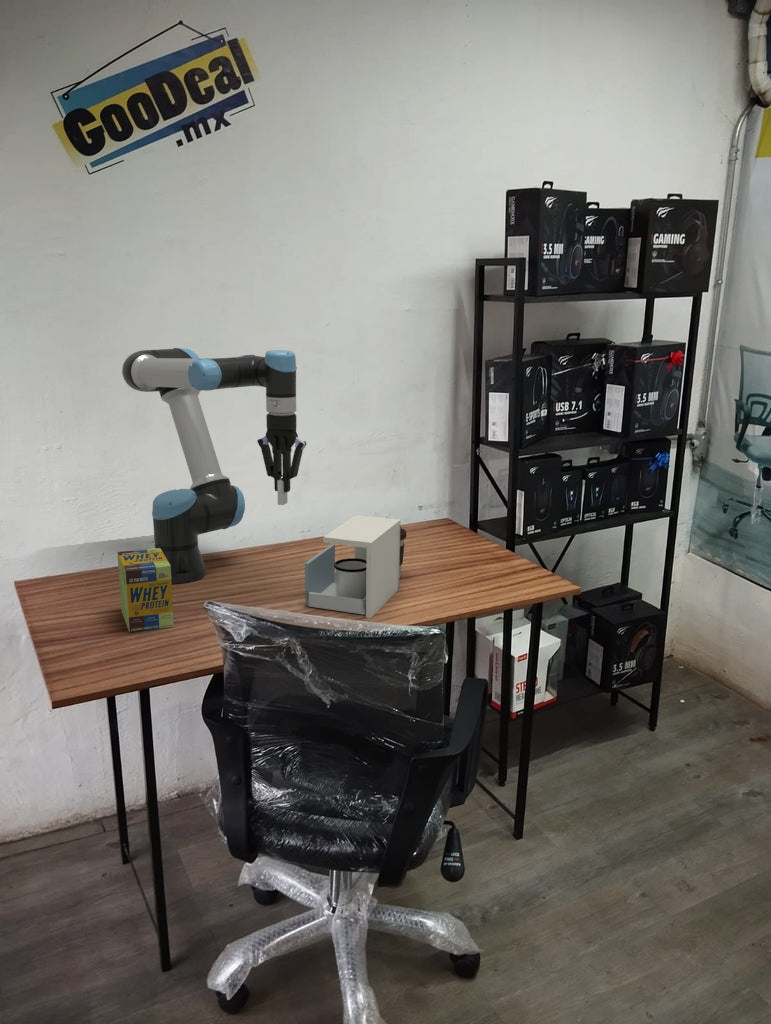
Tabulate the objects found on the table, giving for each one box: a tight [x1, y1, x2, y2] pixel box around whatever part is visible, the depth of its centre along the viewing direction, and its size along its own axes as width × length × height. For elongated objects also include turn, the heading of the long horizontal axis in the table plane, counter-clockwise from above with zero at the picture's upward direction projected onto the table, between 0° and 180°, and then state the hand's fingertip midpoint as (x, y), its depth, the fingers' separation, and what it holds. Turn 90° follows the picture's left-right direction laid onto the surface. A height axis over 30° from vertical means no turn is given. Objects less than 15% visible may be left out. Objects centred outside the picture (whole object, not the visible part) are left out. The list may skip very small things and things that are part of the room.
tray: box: [304, 543, 366, 616], centre depth 218 cm, size 16×17×11 cm
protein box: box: [116, 547, 175, 634], centre depth 203 cm, size 10×15×16 cm
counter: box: [323, 514, 401, 619], centre depth 217 cm, size 12×22×19 cm, turn 161°
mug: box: [334, 557, 367, 599], centre depth 218 cm, size 12×10×9 cm
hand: (282, 503), depth 219 cm, fingers closed
